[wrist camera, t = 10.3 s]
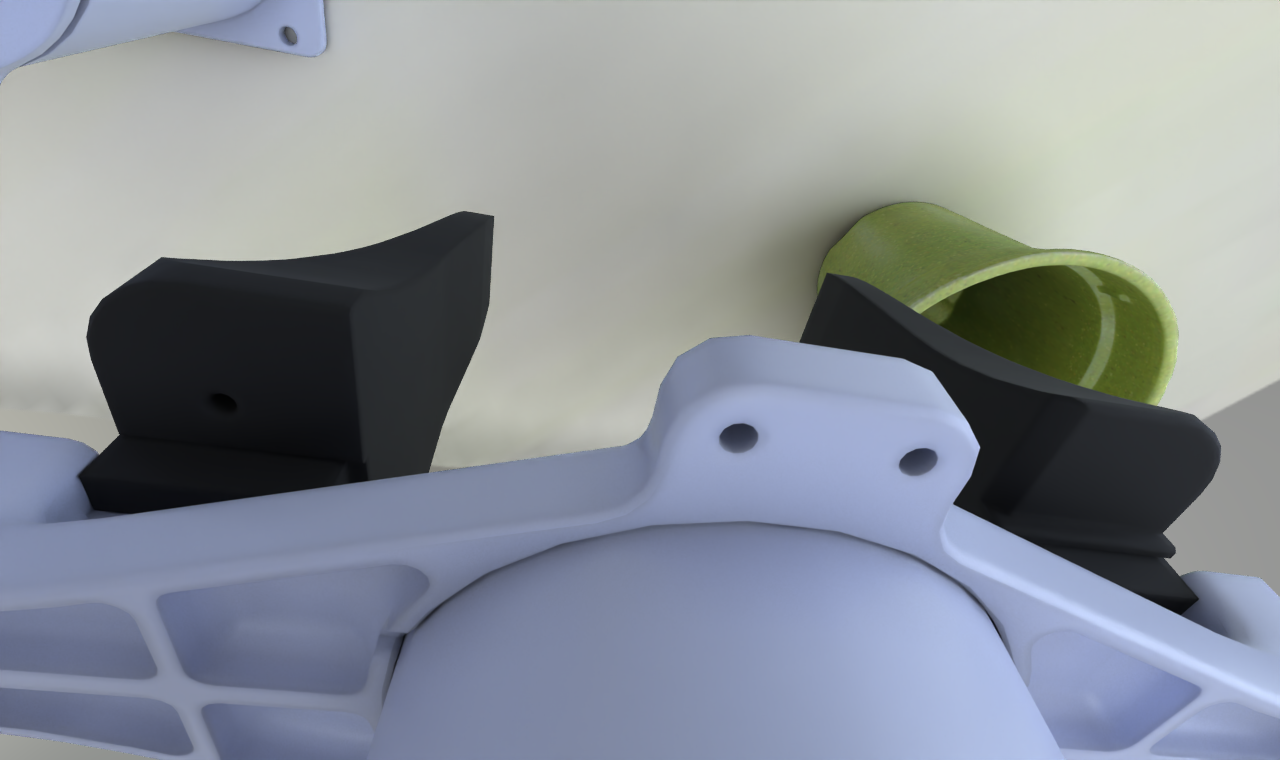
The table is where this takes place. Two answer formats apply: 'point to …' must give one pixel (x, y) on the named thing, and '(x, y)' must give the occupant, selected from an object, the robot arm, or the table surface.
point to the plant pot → (1019, 297)
